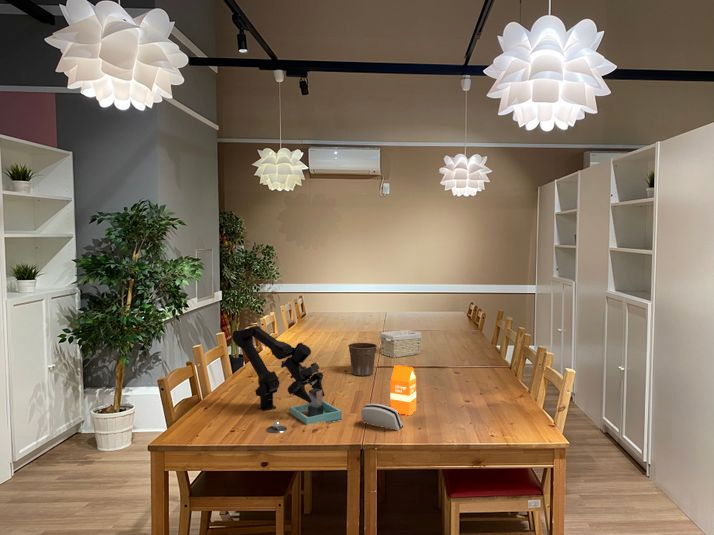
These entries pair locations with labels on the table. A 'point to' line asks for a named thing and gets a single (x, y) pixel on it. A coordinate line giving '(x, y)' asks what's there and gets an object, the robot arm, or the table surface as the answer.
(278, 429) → the stud plate
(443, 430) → the table surface
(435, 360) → the table surface
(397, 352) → the storage basket
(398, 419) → the magnetic glass cleaner
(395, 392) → the orange juice
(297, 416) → the bin
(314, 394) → the strut
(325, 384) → the table surface
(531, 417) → the table surface
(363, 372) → the plant pot
